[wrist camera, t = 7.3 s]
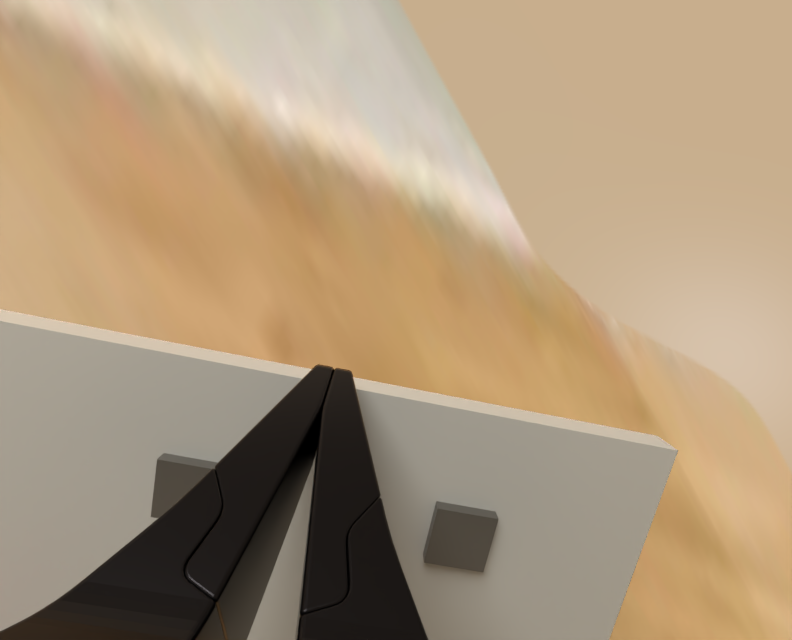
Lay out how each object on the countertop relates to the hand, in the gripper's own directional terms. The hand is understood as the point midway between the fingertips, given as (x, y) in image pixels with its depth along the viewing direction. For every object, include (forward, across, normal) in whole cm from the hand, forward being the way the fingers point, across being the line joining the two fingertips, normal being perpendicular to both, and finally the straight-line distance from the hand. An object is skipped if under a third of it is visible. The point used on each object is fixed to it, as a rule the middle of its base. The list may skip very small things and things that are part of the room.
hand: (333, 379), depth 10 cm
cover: (-1, 0, +5) cm, 5 cm away
